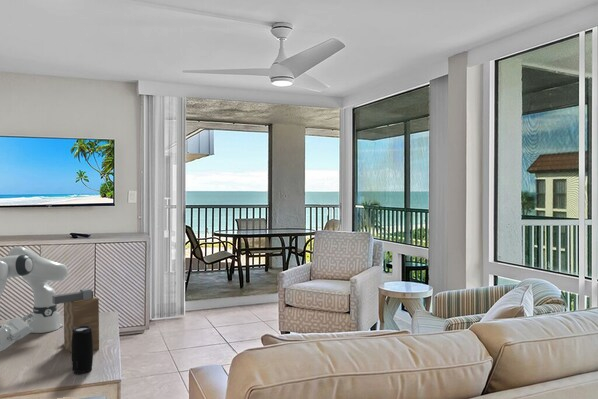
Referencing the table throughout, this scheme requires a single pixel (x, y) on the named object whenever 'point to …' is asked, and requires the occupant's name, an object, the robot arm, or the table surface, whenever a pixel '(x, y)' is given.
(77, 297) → the dark grey square bar
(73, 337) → the portable speaker
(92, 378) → the table surface
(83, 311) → the panel block
